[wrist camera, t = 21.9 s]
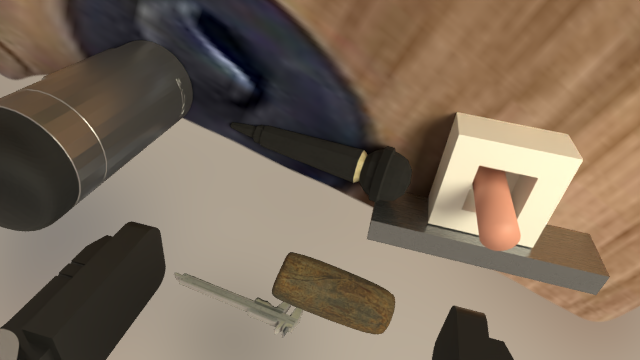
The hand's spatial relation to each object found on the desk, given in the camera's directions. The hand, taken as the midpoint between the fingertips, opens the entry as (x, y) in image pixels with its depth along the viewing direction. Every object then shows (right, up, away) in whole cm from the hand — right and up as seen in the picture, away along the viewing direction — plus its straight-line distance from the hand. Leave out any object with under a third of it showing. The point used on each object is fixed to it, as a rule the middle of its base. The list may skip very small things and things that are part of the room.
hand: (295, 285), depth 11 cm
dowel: (+17, +4, +29) cm, 34 cm away
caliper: (-11, -13, +49) cm, 52 cm away
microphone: (+1, +7, +33) cm, 33 cm away
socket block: (+18, +4, +30) cm, 35 cm away
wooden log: (+3, -10, +43) cm, 44 cm away
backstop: (+18, -1, +33) cm, 37 cm away
